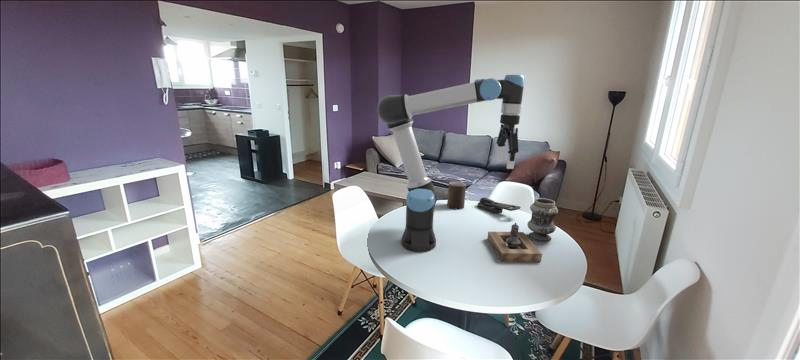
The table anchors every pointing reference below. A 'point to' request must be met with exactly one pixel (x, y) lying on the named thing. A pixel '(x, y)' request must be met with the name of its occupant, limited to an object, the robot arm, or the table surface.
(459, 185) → the pillar candle
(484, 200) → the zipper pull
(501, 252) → the block
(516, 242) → the stone chess piece
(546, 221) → the apothecary jar
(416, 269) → the table surface
